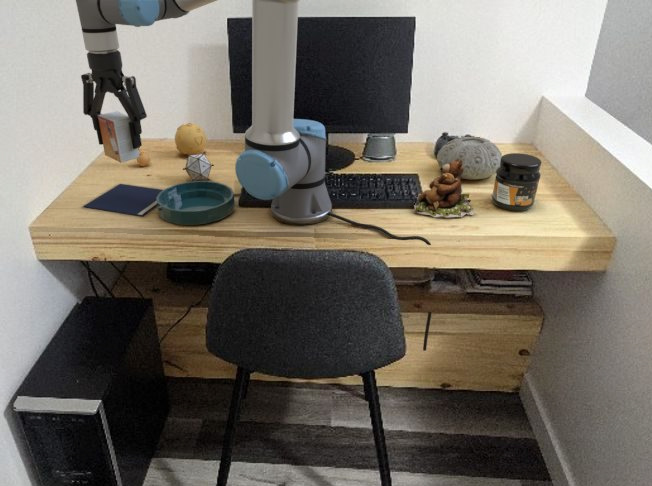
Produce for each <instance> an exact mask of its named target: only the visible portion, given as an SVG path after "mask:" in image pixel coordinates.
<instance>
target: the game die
mask: <svg viewBox="0 0 652 486" xmlns="http://www.w3.org/2000/svg"><path fill="white" fill-rule="evenodd" d="M186 156H187V159H186V163H185V166H184V167H183V168H182V170H183V171H185V172H186V173H187V175H188V176H189V178H190V179H191V181H190V182H192V181H204V180H207V181H211V179H210V178H209V177H210V174H211V169H212V167H215V164H212V163H211V162H210V160H209V159H208V157H207V156H206V150H204V151H203V153H198V154H196V155H189V154H187V155H186Z"/></svg>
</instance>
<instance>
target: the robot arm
mask: <svg viewBox="0 0 652 486" xmlns="http://www.w3.org/2000/svg"><path fill="white" fill-rule="evenodd" d="M217 1H218V0H75V3H76V8H77V13H78V17H79V22H80V26H81V34H82V38H83V44H84V48H85V50H86V51H87V53H86V59H87V63H88V68H89V69H90V70H91V72H87V73H84V74H81V75H80V78H81V82H82V85H83V86H82V100H83V101H82V103H83V104H82V108H83V109H82V110H83V111H82V113H83V115H85V116H89V117H90V119H91V121H92V125H93V129H94V131H96V135H97V140H98V145H99V146H100V145H102V146H103V142H102V136H101V131H100V126H99V121H98V115H101V114H102V113H101V112H102V109H103V106H104V105H103V104H104V101H105V97H106V93H109V94H113V95H114V97H116V98H117V99H118V101H119V102H120V105H121V106H122V108H123V109H124V111H125V113H126V115H128V116H129V118H130V119H131V121H130V122H129V128H130V134H131V139H132V145H133V149H136V148H138V147H140V148H141V147H142V144H143V143H142V137H141V134H142V133H143V131H142V130H143V129H142V123H141V121H142V120H145V119H146V118H147V117H148V115H147V113H146V112H147V111H146V109H145V107H144V103H143V101H142V99H141V96H140V92H139V90H138V88H137V77H135V76H134V75H131V76H126V75H125V74H124V72H123V60H122V59H123V58H122V54H121V51H119V48H120V43H119V38H118V32H117V25H122V26H131V27H135V28H140V27H150V26H152V25H154V24H155V22H160V21H163V20H169V19H178V18H181V17H185V16H187V15H188V14H190V12H191V11H193V10H197V9H199V8H202V7H204V6H208V5H209V4H212V3H214V2H217ZM299 2H300V0H251V5H252V7H251V11H252V12H251V15H252V16H251V18H252V20H251V23H252V24H251V28H252V29H251V30H252V31H251V33H252V34H251V36H252V37H251V38H252V39H251V41H252V42H251V45H252V46H251V49H252V50H251V54H252V55H251V59H252V60H251V80H252V81H251V84H252V85H251V86H252V87H251V94H252V95H251V102H252V103H251V112H252V113H251V115H252V116H251V126H250V127H248V128H247V129H246V130H245V132H244V151H242V152H241V153H240V154H239V156H238V157H237V159H236V161H235V164H234V165H235V167H234V169H235V171H234V172H235V176H236V179H237V180H238V182H239V184H240V186H241V187H242V188H244V190H245V191H246V193H248V194H249V196H252V197H253V198H256V199H258V200H262V201H263V200H264V201H270V200H272V201H271V204H270V212H271V213H270V214H271V216H272V217H273V218H274V219H275V220H277V221H278V222H281V223H284V224H287V225H295V226H308V225H313V224H314V225H315V224H318V223H322V222H323V221H326V220H328V218H330V217H332V218H335V219H337V220H340V221H343V222H346V223H348V224H350V225H353V226H356V227H360V228H367V229H372V230H375V231H376V230H377V231H379V232H381V233H383V234H385V236H387V237H389V238H390V239H393V240H397V241H410V240H419V241H422V242H424V243H425V245H427V246H432V244H431V242H430V241H429V240H428V239H427V238H425V237H423V236H418V235H411V236H410V235H409V236H398V235H395V234H392V233H391V232H389V231H388V230H386V229H385V228H382V227H380V226H376V225H373V224H367V223H362V222H357V221H354V220H351V219H348V218H346V217H343V216H341V215H338V214H336V213H333V212H332V211H333V204H332V201H331V198H330V194H329V191H328V189H327V186H326V146H327V145H326V144H327V143H326V142H327V137H326V127H325V125H324V124H323V123H321V122H319V121H316V120H312V119H304V118H294V113H295V112H294V111H295V91H296V89H295V88H296V65H297V44H298V43H297V41H298V19H299ZM432 314H433V313H432V311H428V313H427V318H426V324H425V331H424V337H423V346H422V351H424V352H427V345H428V338H429V332H430V326H431V325H430V324H431V320H432Z"/></svg>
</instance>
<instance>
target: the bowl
mask: <svg viewBox="0 0 652 486" xmlns="http://www.w3.org/2000/svg"><path fill="white" fill-rule="evenodd" d="M191 181H192V180H191ZM191 181H185V182H180V183H176V184H173V185H171V186H168V187H166V188H164V189H162V190H163V191H161V192H160V193H159V194H158V196H157V197H156V199H157V212H158V216H159V217H160V218H161V219H162V220H164V221H165V222H169V223H171V224H175V225H183V226H198V225H205V224H206V225H207V224H210V223H213V222H214V223H215V222H218V221H220V220H222V219H224V218H226V217H229V216H230V214H232V213H233V212H234V210H235V207H236V204H235V203H236V202H235V193H234V190H233V188H232V187H230V186H229V185H227V184H225V183H221V182H218V181H211V180H210V181H208V180H195V181H192V182H191Z"/></svg>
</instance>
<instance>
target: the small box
mask: <svg viewBox="0 0 652 486" xmlns="http://www.w3.org/2000/svg"><path fill="white" fill-rule="evenodd" d="M98 121H99V126H100V131H101V136H102V142H103V144H102V146H103V152H104V156H106V157H108V158H110V159H112V160H115V161H116V162H118V163H120V164H122V163H125V162H129V161H132V160H135V159H136V160H137V158H139V157H140V156H139V150H138V148H136V149H133V145H132V139H131V134H130V128H129V122H130V121H131V119H130V118H129V116H128V114H125V113H122V112H120V111H117V110H115V111H111V112H106V113H101V115H98Z"/></svg>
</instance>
